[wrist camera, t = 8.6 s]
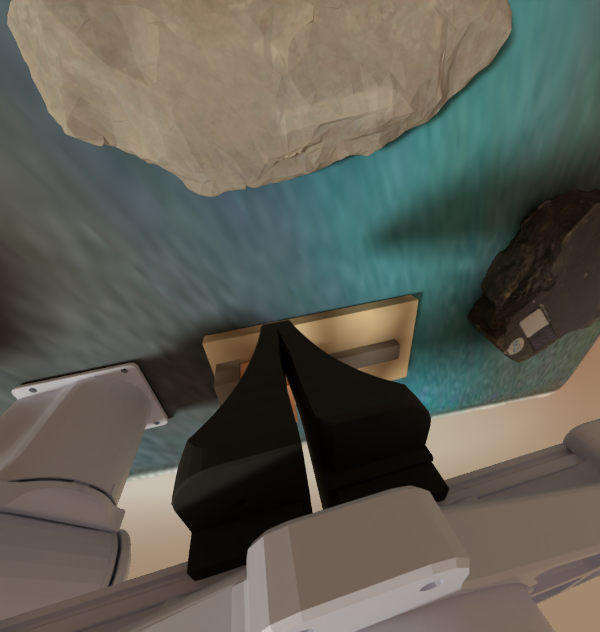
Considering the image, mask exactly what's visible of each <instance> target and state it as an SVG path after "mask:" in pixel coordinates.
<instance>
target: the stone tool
mask: <svg viewBox="0 0 600 632" xmlns="http://www.w3.org/2000/svg"><path fill="white" fill-rule="evenodd" d="M7 18H8V26H9V28H10V30H11V32H12V34H13V36H14V38H15V40H16V42H17V44H18V46H19V49H20V51H21V53H22V56H23V58H24V60H25V61H26V63H27V64H28V66H29V68H30V72H31V76H32V79H33V80H34V82H35V84H36V86H37V88H38V90H39V92H40V94H41V95H42V97H43V99H44V101H45V103H46V106H47V110H48V112H49V113H50V114H51V115H52V116H53V117H54V118H55V120H56V121H57V123H59V124H60V125H61V126H62V128H63V130H64V132H65V134H67V135H70V136H72V137H75V138H78V139H80V140H83V141H85V142H88V143H91V144H93V145H97V146H104V145H109V146H115V147H117V148H119V149H121V150H123V151H125V152H127V153H130V154H134V155H137V156H138V157H140V158H141V159H142V160H144V161H145V162H146V163H149V164H157V165H159V166H160V167H162V168H164V169H166V170H167V171H169V172H171V173H173V174H175V175H177V177H178V178H180V179H181V180H182V181H183V183H184V184H185V186H186V187H187V188H189V189H190V190H191V191H193V192H195V193H197V194H199V195H201V196H210V197H213V196H218V195H219V194H221V193H224V192H227V191H232V190H238V189H245V188H246V187H247V186H248V187H251V188H255V187H260V186H263V185H266V184H269V183H277V182H280V181H285V180H290V179H293V178H296V177H299V176H302V175H306V174H310V173H313V172H316V171H318V170H319V169H321V168H324V167H327V166H329V165H330V164H332V163H334V162H335V161H337V160H342V159H344V158H346V157H348V156H350V155H365V156H369V155H370V154H372V153H373V152H375V151H376V150H378V149H380V148H382V147H383V146H384V145H386V144H387V143H388V142H391V141H393V140H395V139H396V138H397V137H398V136H400V135H401V134H402V133H403V132H405V131H406V130H409V129H411V128H414V127H416V126H419V125H421V124H424V123H426V122H428V121H429V120H430V119H431V118H432V117H433V116H434V115H435V114H437V112H438V111H439V110H440V108H441V107H442V106H443V105H444V104H445V103H446V102H447V100H448V99H449V98H450V97H452V96H453V95H454V94H456V93H457V92H459V91H460V90H461V89H462V88H464V87H465V86H466V85H467V83H468V82H469V81H470V80H471V79H472V78H473V77H474V76H475V75H476V74H477V73H478V72H479V71H481V70H482V69H484V68H485V67H486V66H488V65H489V64H490V63H491V61H492V60H493V59H494V57H495V56H496V54H497V53H498V51H499V49H500V48H501V46H502V45H503V44H504V42H505V41H506V40H507V38H508V36H509V34H510V32H511V28H512V11H511V8H510V5H509V3H508V1H507V0H12V1H11V3H10V7H9V13H8V15H7ZM153 84H154V85H153Z"/></svg>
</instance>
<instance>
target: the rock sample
mask: <svg viewBox="0 0 600 632" xmlns="http://www.w3.org/2000/svg"><path fill="white" fill-rule="evenodd" d="M481 288H482V290H483V293H482V296H481V297H480V299H479V300H478V301H476V302H475V304H474V307H473V308H472V309H471V311H470V312H469V314H468V315H467V318H468V319H469V320H470V321H471V323H472V324H473V325H474V326H475V327H476V328H477V329H478V330H479V331H480V332H481V333H482V334H483V335H484V336H485V337H486V338H487V339H488V340H489V341H490V342H491V343H492V344H493V345H495V346H496V347H497V348H498V349H499V350H501V351H502V352H503V353H504V355H506V356H507V357H509V358H510V359H512V360H515V361H516V362H522V361H524V360H526V359H529V358H531V357H532V356H534V355H536V354H537V353H539V352H540V351H542V350H544V349H545V348H547V347H548V346H549V345H551V344H552V343H554V342H555V341H556V340H558V339H559V338H561V337H562V336H564V335H565V334H567V333H569V332H572V331H576V330H578V329H583V328H587V327H590V326H591V325H593V324H594V323H595V322H597V321H599V320H600V190H599V189H595V190H592V191H589V192H585V191H581V190H572V191H569V192H567V193H565V194H563V195H561V196H559V197H557V198H556V199H554V200H552V201H550V200H547V201H546V202H544V203H543V204H541V205H540V206H539V207H538V209H537V210H536V212H535V213H532V214H530V216H529V217H528V218H527V219H526V220H525V221H524V222H523V223H522V225H521V228H520V230H519V232H518V234H517V236H516V237H515V239H514V240H512V241H511V242H510V245H509V246H508V247H507V248H506V249H505V250H503V251H501V252H499V253H498V254H497V255H496V257H495V258H494V260H493V261H492V263H491V265H490V267H489V269H488V271H487V273H486V277H485V278H484V279H483V281H482V283H481Z"/></svg>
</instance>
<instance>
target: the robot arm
mask: <svg viewBox="0 0 600 632" xmlns="http://www.w3.org/2000/svg"><path fill="white" fill-rule="evenodd" d="M124 369H127V370H124ZM286 377H287V380H288V383H289V386H290V388H291V391H292V394H293V397H294V400H295V403H296V406H297V408H298V411H299V414H300V417H301V421H302V424H303V428H304V433H305V437H306V441H307V445H308V449H309V453H310V457H311V461H312V465H313V470H314V474H315V478H316V482H317V487H318V491H319V495H320V499H321V503H322V508H323V510H321V511H318V512H315V513H312V507H311V500H310V492H309V487H308V480H307V474H306V468H305V462H304V456H303V450H302V444H301V440H300V436H299V432H298V427H297V423H296V420H295V416H294V413H293V409H292V405H291V402H290V398H289V394H288V390H287V382H286ZM34 388H35V389H34ZM12 394H13V395H14V396H15V397H16V398H17V399H18V400H17V401H16V402H15V403H14V404H13V405H12V406H11V407H10V408H9V409H8V410H7V411H6V412H5V413H4V414H3V415H2V416H1V417H0V632H555V631H554V629H553V628H552V627H551V625H550V624H549V622H548V621H547V619H546V618H545V616H544V615H543V614H542V612H541V611H540V609H539V608H538V607H537V605H536V604H538V603H540V602H542V601H545V600H547V599H549V598H551V597H554V596H556V595H558V594H560V593H562V592H565V591H567V590H569V589H571V588H573V587H576V586H578V585H580V584H582V583H585V582H586V581H589V580H591V579H593V578H596V577H598V576H600V419H597V420H594V421H591V422H588V423H584V424H581V425H579V426H576V427H575V428H573V429H572V430H571V431H570V432H569V433H568V434H567V435H566V436H565V438H564V440H563V443H562V444H559V445H555V446H552V447H549V448H546V449H542V450H540V451H536V452H533V453H530V454H526V455H523V456H520V457H517V458H514V459H511V460H507V461H504V462H501V463H498V464H495V465H492V466H489V467H485V468H482V469H479V470H476V471H473V472H470V473H467V474H463V475H460V476H457V477H454V478H451V479H447V480H443V478H442V477H441V475H440V474H439V472H438V471H437V470H436V468H435V466H434V465H433V463H432V462H431V461H433V456H432V454H431V453H430V451H429V450H428V448H427V447H426V446H425V444H426V440H427V436H428V432H429V428H430V423H431V417H430V414H429V411H428V410H427V409H426V408H425V406H424V405H423V404H422V403H421V401H420V400H419V399H418V398H417V397H416V396H415V395H414V394H413V393H412V392H411V391H410V390H409V389H408V388H407V386H406V385H404V384H400V383H397V382H393V381H390V380H386V379H382V378H379V377H376V376H373V375H371V374H368V373H365V372H363V371H360V370H358V369H356V368H353V367H351V366H349V365H347V364H345V363H343V362H341V361H339V360H337V359H336V358H334V357H332V356H331V355H329V354H327V353H326V352H325V351H323V350H322V349H320V348H319V347H318V346H316V345H315V344H314V343H313V342H311V341H310V340H309V339H308V338H307V337H306V336H304V335H303V334H302V333H301V332H300V331H299V330H298V329H297V328H296V327H295V326H294V325H293V323H292V322H291V321H289V320H284V321H279V322H274V323H269V324H264V325H262V326H261V327H260V334H259V338H258V342H257V345H256V347H255V350H254V353H253V355H252V357H251V359H250V362H249V364H248V366H247V368H246V370H245V372H244V374H243V375H242V377H241V379H240V380H239V382H238V383H237V385H236V386H235V388H234V389H233V391H232V392H231V394H230V395H229V396H228V398H227V399H226V400H225V402H224V403H223V404H222V405H221V406H220V408H219V409H218V410H217V411H216V412H215V413H214V415H213V416H212V417H211V418H210V419H209V420H208V421H207V422H206V423H205V424H204V425H203V426H202V427H201V428H200V429H199V430H198V431H197V432H196V433H195V434H194V435H193V436H192V437H191V438H189V439H188V440H187V443H186V445H185V448H184V451H183V454H182V457H181V460H180V463H179V466H178V470H177V475H176V480H175V485H174V491H173V496H172V506H173V508H174V510H175V512H176V513H177V514H178V516H179V517H180V518H181V519H182V521H183V522H184V523H185V525H186V526H187V527H188V528H189V530H190V531H191V532H192V535H191V543H190V550H189V558H188V562H185V563H181V564H178V565H175V566H172V567H169V568H166V569H162V570H159V571H156V572H153V573H150V574H147V575H144V576H140V577H137V578H134V579H131V580H128V581H127V578H128V574H129V569H130V562H131V543H130V537H129V534H128V533H127V532H126V531H125V530H122V529H120V526H121V523H122V520H123V517H124V514H125V510H123V509H120V508H118V507H117V504H118V502H119V499H120V496H121V493H122V491H123V488H124V485H125V482H126V480H127V477H128V474H129V471H130V469H131V466H132V463H133V460H134V458H135V455H136V452H137V449H138V447H139V444H140V441H141V438H142V436H143V433H144V430H145V429H148V428H152V427H156V426H161V425H164V424H166V423H167V422H168V417H167V415H166V413H165V412H164V410H163V408H162V406H161V405H160V403H159V401H158V399H157V398H156V396H155V394H154V392H153V391H152V389H151V387H150V385H149V384H148V382H147V380H146V379H145V377H144V375H143V373H142V372H141V370H140V368H139V366H138V365H137V364H135V363H126V364H121V365H116V366H112V367H107V368H102V369H97V370H92V371H87V372H83V373H78V374H73V375H68V376H63V377H58V378H53V379H49V380H44V381H39V382H34V383H29V384H24V385H20V386H16V387H15V388H14V389H13V390H12ZM157 421H158V422H157Z"/></svg>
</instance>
